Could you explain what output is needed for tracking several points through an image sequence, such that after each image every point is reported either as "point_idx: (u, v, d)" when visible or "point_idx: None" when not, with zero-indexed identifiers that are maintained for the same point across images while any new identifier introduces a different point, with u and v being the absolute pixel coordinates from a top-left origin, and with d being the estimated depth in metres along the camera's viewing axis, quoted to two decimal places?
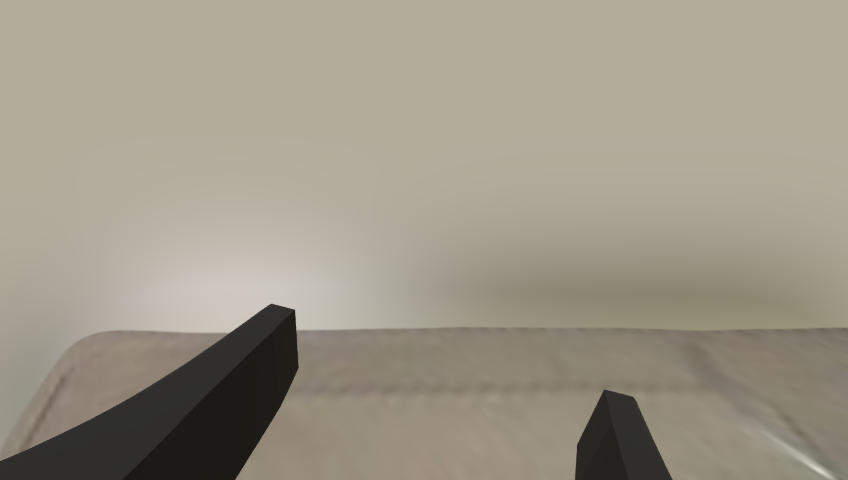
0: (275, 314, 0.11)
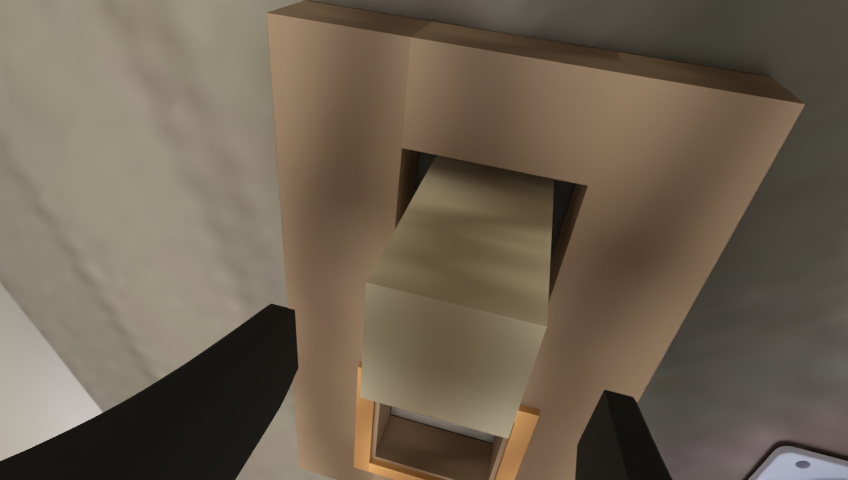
0: (275, 314, 0.11)
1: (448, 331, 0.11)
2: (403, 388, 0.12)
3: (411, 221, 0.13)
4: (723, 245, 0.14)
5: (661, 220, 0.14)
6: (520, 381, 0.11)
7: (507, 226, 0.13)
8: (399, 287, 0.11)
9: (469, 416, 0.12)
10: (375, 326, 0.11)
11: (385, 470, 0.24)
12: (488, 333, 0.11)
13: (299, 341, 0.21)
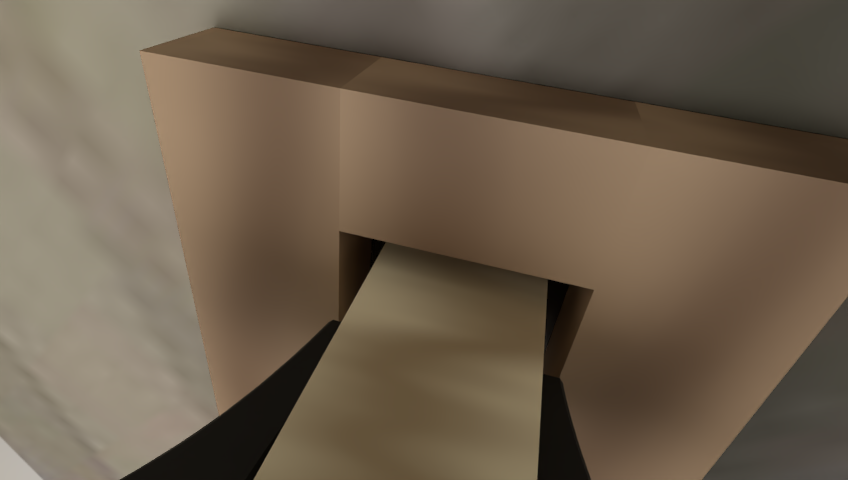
0: None
1: None
2: None
3: (340, 355, 0.09)
4: (782, 370, 0.10)
5: (696, 337, 0.10)
6: None
7: (479, 356, 0.09)
8: None
9: None
10: None
11: None
12: None
13: None
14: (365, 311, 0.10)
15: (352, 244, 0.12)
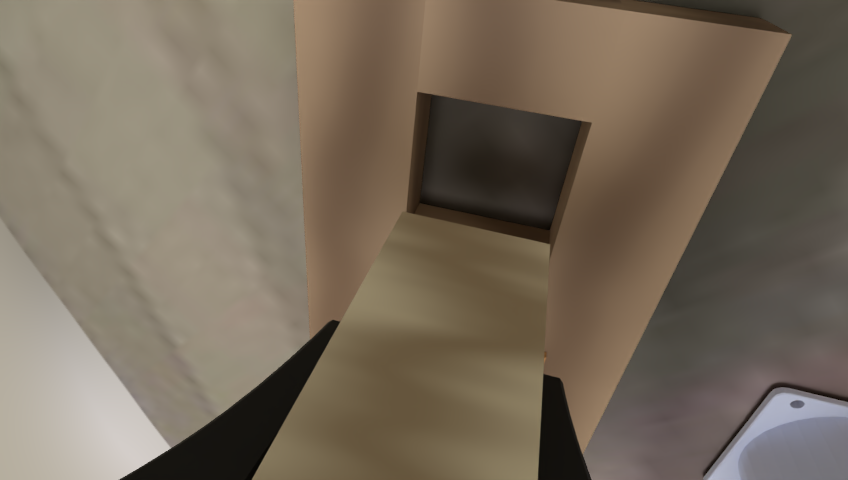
0: None
1: None
2: None
3: (340, 352, 0.09)
4: (718, 177, 0.15)
5: (660, 154, 0.15)
6: None
7: (480, 354, 0.09)
8: None
9: None
10: None
11: None
12: None
13: (316, 292, 0.22)
14: (365, 309, 0.10)
15: (420, 111, 0.17)
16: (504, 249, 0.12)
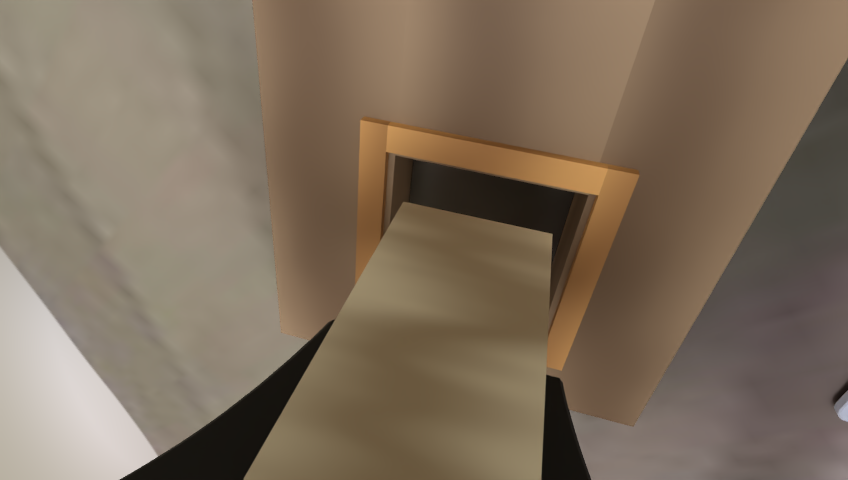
0: None
1: None
2: None
3: (341, 339, 0.09)
4: None
5: None
6: None
7: (482, 341, 0.09)
8: None
9: None
10: None
11: None
12: None
13: (274, 90, 0.14)
14: (366, 297, 0.10)
15: None
16: (506, 239, 0.12)
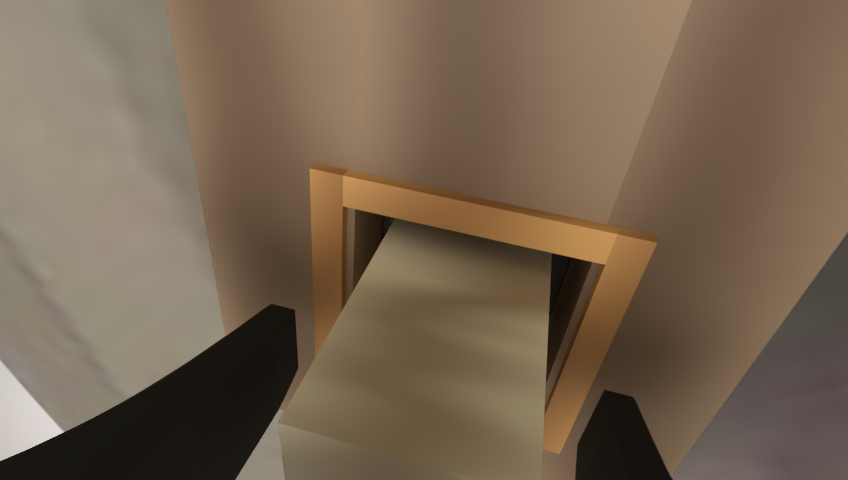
0: (275, 314, 0.11)
1: None
2: None
3: (359, 308, 0.10)
4: None
5: None
6: None
7: (489, 309, 0.10)
8: (326, 429, 0.07)
9: None
10: (299, 474, 0.08)
11: None
12: None
13: (204, 129, 0.12)
14: (381, 271, 0.11)
15: None
16: None
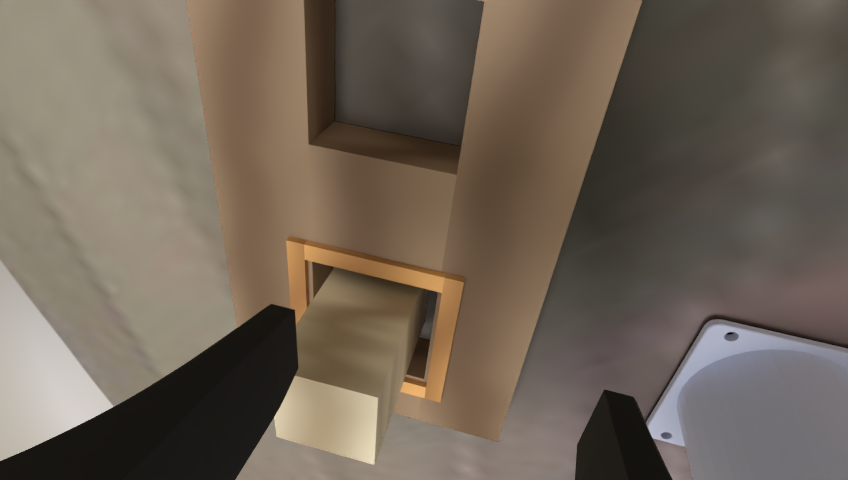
0: (275, 314, 0.11)
1: (322, 398, 0.17)
2: (302, 431, 0.18)
3: (309, 316, 0.19)
4: (621, 62, 0.14)
5: (558, 36, 0.14)
6: (372, 429, 0.17)
7: (377, 316, 0.19)
8: None
9: (347, 450, 0.18)
10: None
11: None
12: (346, 399, 0.17)
13: (229, 217, 0.21)
14: (324, 296, 0.20)
15: (315, 3, 0.16)
16: None
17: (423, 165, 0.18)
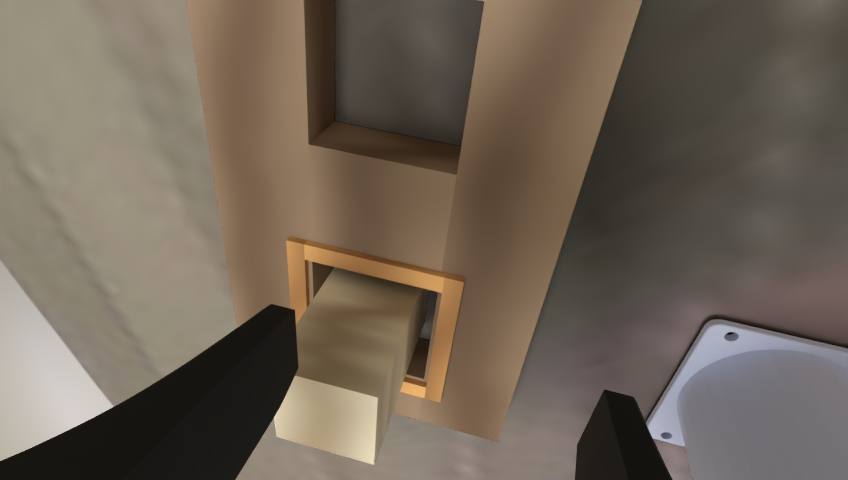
0: (275, 314, 0.11)
1: (322, 398, 0.17)
2: (302, 431, 0.18)
3: (309, 316, 0.19)
4: (621, 62, 0.14)
5: (558, 36, 0.14)
6: (371, 429, 0.17)
7: (377, 317, 0.19)
8: None
9: (347, 450, 0.18)
10: None
11: None
12: (345, 399, 0.17)
13: (229, 217, 0.21)
14: (324, 296, 0.20)
15: (315, 3, 0.16)
16: None
17: (423, 165, 0.18)
